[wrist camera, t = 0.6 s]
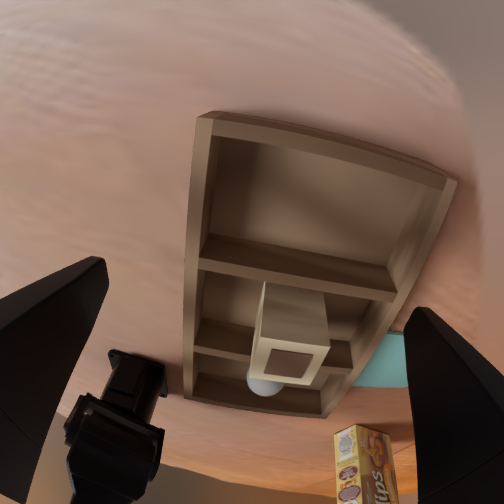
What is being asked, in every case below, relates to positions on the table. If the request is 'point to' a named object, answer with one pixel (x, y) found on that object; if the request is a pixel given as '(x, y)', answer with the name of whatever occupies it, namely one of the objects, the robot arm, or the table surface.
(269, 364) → the block with dark square
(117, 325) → the table surface
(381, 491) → the candy box
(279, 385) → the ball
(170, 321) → the table surface
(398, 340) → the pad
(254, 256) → the caddy
